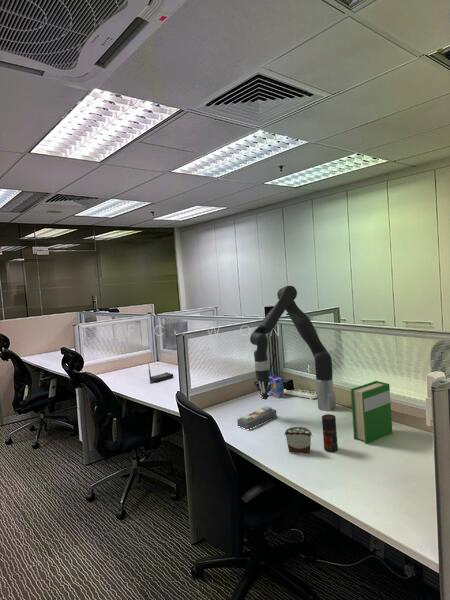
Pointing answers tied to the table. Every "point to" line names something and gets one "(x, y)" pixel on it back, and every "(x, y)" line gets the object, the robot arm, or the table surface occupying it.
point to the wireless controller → (160, 377)
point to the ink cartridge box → (276, 387)
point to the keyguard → (257, 419)
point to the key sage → (247, 418)
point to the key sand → (260, 412)
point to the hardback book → (371, 411)
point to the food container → (298, 440)
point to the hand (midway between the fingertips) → (265, 398)
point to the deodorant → (329, 433)
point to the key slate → (267, 409)
